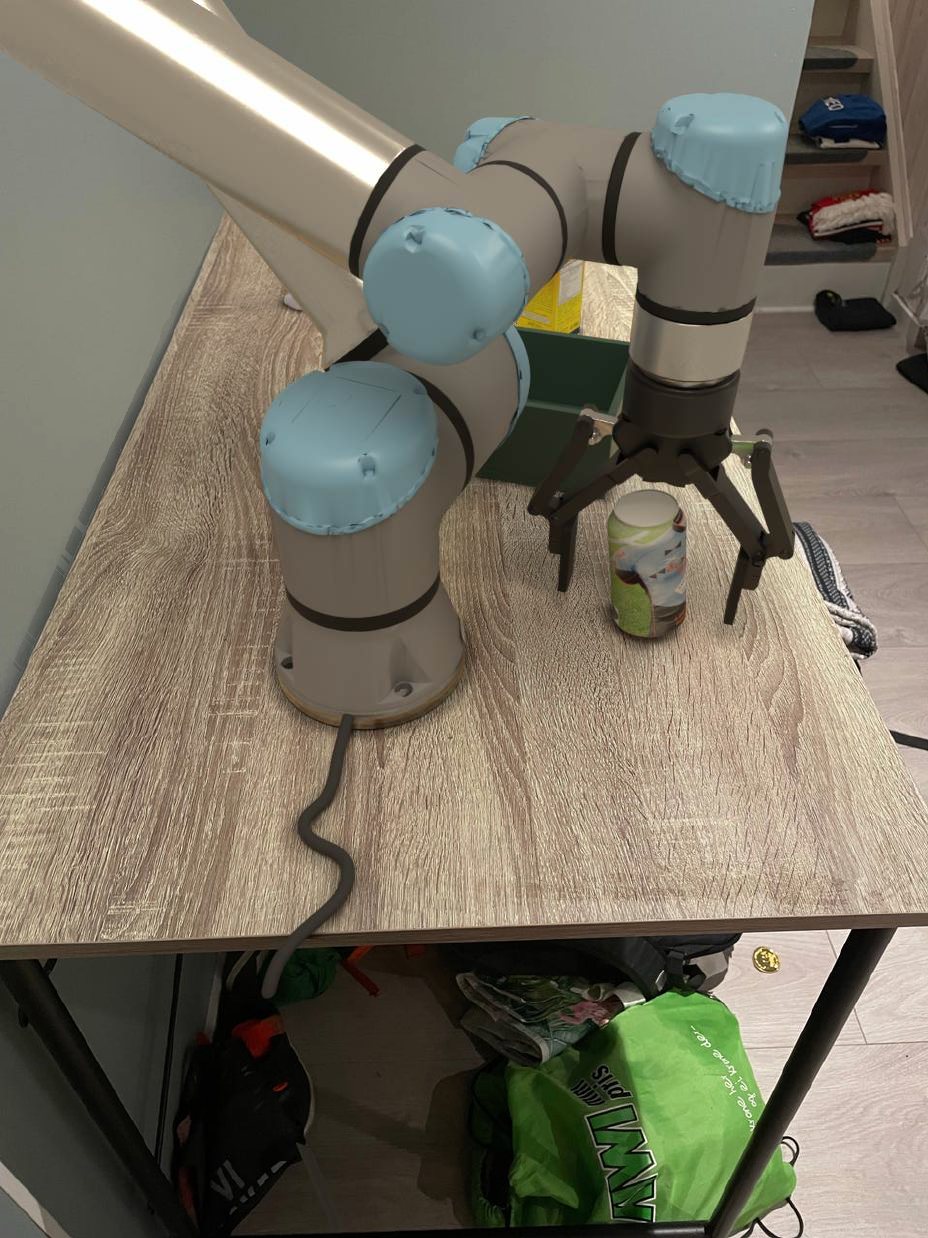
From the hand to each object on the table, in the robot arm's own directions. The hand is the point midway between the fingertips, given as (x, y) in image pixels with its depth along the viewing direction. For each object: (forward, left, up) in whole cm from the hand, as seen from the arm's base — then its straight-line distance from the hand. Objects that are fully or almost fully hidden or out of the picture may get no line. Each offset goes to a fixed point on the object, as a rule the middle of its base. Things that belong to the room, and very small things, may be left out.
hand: (645, 597), depth 76 cm
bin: (+24, +14, -3) cm, 28 cm away
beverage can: (0, 0, -3) cm, 3 cm away
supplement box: (+49, +20, -3) cm, 53 cm away
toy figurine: (+48, +53, -3) cm, 72 cm away
